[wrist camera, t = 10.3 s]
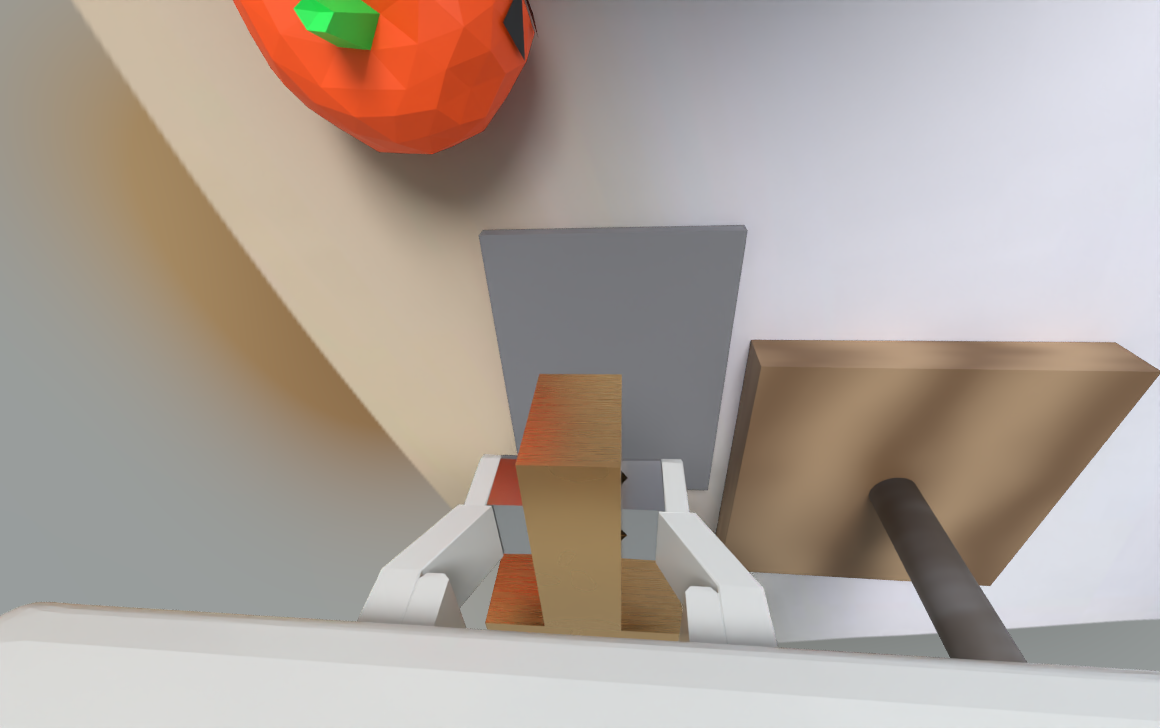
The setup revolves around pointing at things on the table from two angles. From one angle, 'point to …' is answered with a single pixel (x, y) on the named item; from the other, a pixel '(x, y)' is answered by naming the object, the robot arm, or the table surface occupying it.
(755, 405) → the stand
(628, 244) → the mat
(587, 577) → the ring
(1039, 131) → the table surface
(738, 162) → the table surface
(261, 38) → the pumpkin
